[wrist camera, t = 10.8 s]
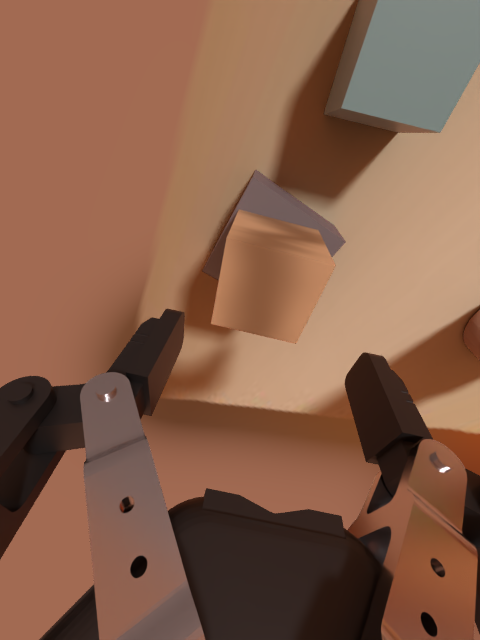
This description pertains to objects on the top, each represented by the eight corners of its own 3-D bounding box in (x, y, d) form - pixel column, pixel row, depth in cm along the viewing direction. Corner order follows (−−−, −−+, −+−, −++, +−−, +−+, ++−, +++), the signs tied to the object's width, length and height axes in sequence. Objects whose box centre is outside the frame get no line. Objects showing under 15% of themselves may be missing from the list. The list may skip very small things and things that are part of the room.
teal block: (454, 12, 12) (538, -43, 9) (397, 132, 16) (440, 132, 12) (362, -13, 12) (405, -80, 8) (323, 114, 15) (341, 107, 11)
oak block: (318, 230, 16) (335, 265, 12) (290, 297, 20) (295, 343, 15) (238, 209, 16) (226, 237, 11) (224, 281, 19) (210, 323, 15)
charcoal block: (333, 224, 20) (345, 241, 16) (278, 290, 24) (280, 314, 21) (255, 168, 18) (252, 176, 15) (211, 251, 22) (202, 271, 19)
